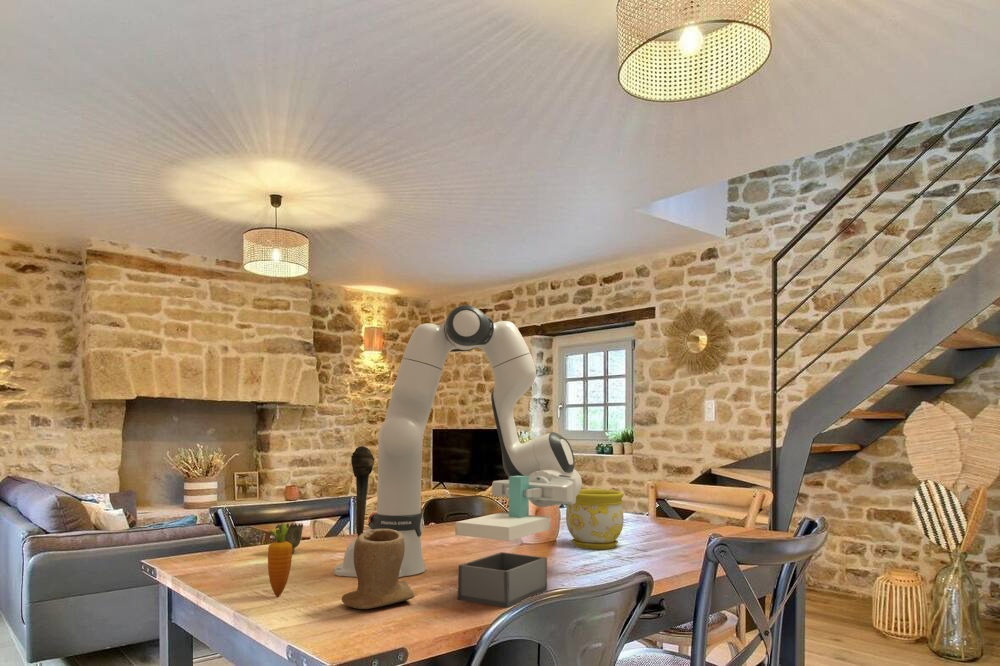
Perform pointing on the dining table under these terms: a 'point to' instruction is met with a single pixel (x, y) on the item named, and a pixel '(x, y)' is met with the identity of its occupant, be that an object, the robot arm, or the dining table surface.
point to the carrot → (279, 561)
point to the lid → (507, 518)
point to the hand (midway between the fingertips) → (517, 493)
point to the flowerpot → (595, 518)
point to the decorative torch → (361, 481)
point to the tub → (502, 579)
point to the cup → (292, 534)
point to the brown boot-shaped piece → (378, 570)
